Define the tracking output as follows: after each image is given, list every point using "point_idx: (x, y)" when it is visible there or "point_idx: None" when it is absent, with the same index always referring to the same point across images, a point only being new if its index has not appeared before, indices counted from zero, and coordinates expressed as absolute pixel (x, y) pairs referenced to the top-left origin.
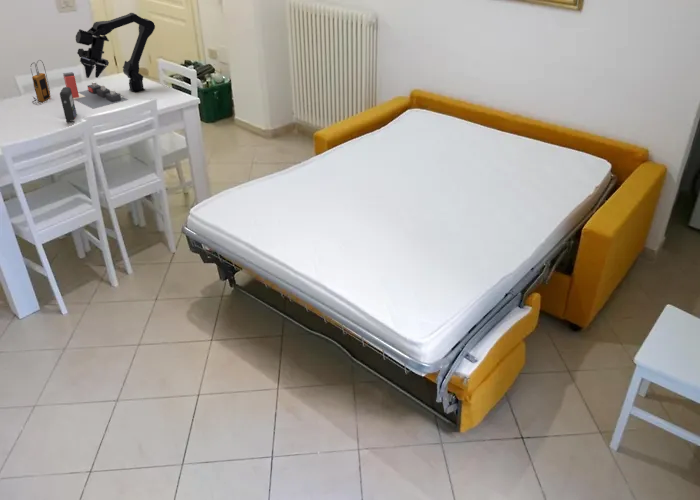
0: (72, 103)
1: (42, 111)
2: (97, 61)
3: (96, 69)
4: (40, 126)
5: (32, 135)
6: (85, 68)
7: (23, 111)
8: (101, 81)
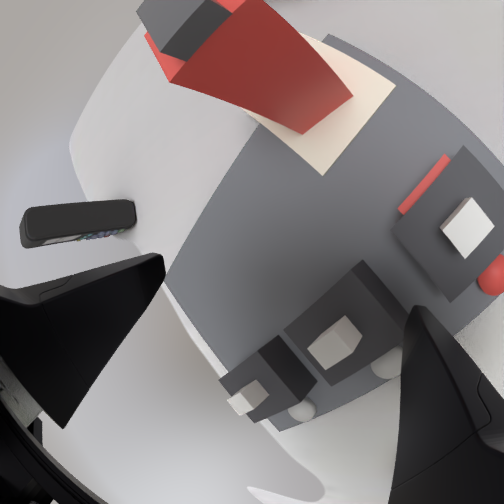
0: (74, 236)
1: None
2: None
3: (448, 408)
4: (97, 152)
5: (78, 167)
6: (41, 293)
7: None
8: None
